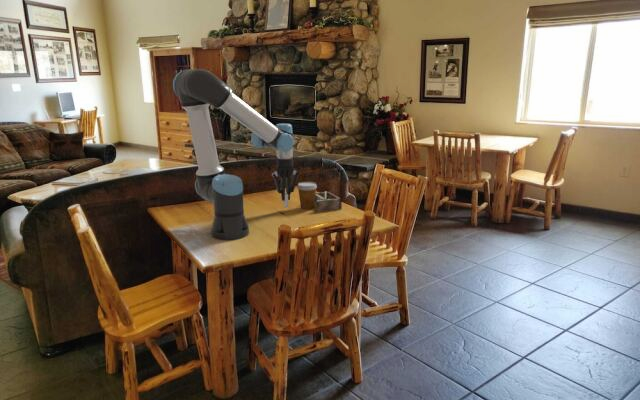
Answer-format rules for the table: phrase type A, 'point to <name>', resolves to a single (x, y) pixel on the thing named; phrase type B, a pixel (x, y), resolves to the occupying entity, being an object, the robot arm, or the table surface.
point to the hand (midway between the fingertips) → (285, 206)
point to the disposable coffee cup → (307, 195)
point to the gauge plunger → (319, 197)
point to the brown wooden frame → (328, 202)
